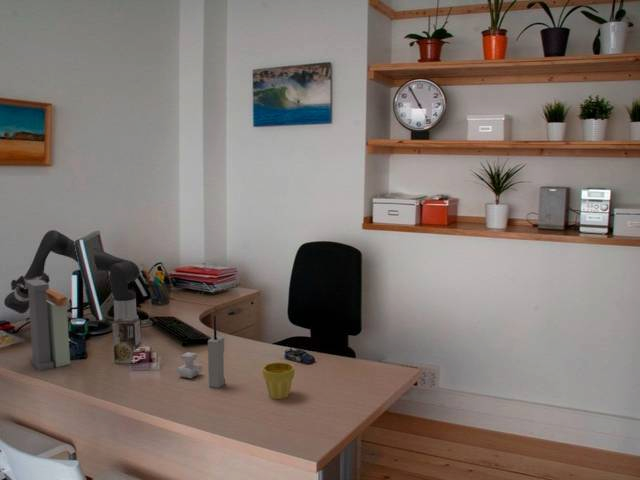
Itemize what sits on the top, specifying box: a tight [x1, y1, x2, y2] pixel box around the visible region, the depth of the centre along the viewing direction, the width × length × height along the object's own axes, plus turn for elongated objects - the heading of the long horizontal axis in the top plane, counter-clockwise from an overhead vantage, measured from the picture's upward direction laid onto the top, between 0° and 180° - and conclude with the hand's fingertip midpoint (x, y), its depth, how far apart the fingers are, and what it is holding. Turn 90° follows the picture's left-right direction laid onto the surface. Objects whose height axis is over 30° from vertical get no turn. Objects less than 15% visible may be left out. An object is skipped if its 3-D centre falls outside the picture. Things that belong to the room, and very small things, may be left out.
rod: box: [46, 287, 68, 306], centre depth 236 cm, size 3×24×3 cm, turn 40°
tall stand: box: [25, 279, 55, 371], centre depth 232 cm, size 5×12×32 cm, turn 40°
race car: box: [283, 348, 316, 366], centre depth 239 cm, size 15×7×4 cm, turn 59°
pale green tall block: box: [46, 299, 71, 368], centre depth 236 cm, size 5×12×24 cm, turn 40°
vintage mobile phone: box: [207, 315, 226, 389], centre depth 212 cm, size 4×5×25 cm
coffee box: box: [111, 318, 143, 365], centre depth 237 cm, size 9×6×16 cm
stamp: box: [176, 351, 203, 379], centre depth 222 cm, size 9×7×8 cm
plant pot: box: [262, 361, 295, 400], centre depth 204 cm, size 10×10×10 cm
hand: (34, 276), depth 252 cm, fingers open, 8 cm apart
